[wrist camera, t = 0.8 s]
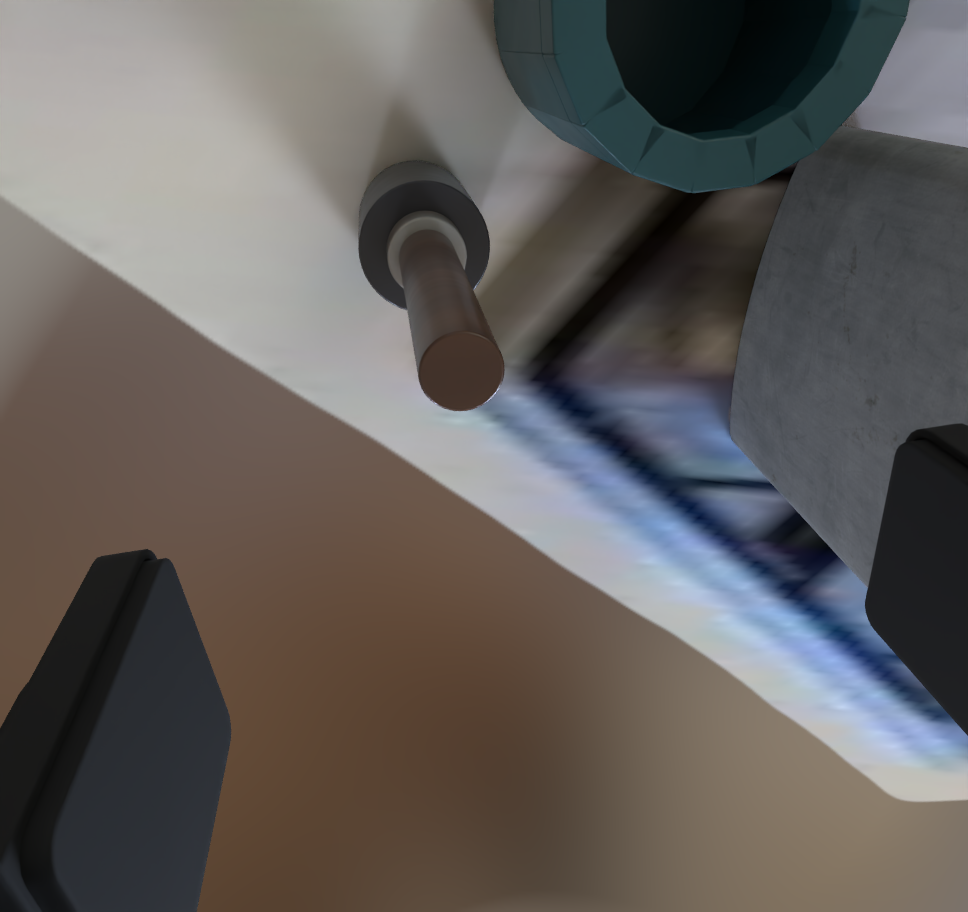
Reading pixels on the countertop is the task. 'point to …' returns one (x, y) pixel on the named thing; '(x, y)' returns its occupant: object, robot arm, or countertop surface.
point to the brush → (433, 277)
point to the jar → (696, 79)
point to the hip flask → (855, 328)
